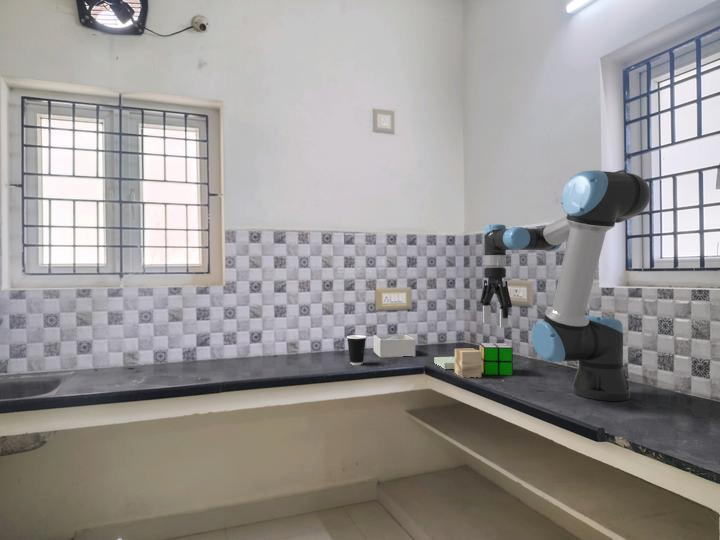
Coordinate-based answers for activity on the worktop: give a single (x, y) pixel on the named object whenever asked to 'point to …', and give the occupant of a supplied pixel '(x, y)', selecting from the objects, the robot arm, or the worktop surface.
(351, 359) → the dixie cup
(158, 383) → the worktop surface
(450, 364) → the base plate
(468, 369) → the oak block
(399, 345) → the box
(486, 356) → the puzzle cube
